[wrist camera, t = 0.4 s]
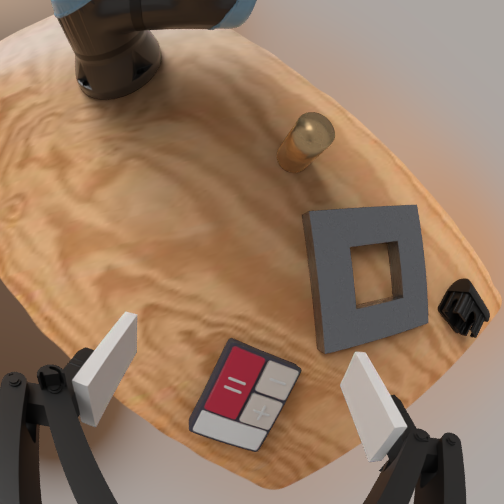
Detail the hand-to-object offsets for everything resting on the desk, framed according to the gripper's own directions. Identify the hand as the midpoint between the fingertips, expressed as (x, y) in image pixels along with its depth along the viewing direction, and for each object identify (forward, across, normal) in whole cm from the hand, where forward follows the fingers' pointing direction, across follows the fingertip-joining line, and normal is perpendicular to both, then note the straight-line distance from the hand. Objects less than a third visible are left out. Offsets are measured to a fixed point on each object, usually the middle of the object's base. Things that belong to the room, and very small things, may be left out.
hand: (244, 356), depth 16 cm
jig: (+27, +20, -1) cm, 34 cm away
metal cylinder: (+31, +4, +14) cm, 34 cm away
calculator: (+19, +3, -20) cm, 28 cm away
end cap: (+29, +42, -4) cm, 51 cm away
